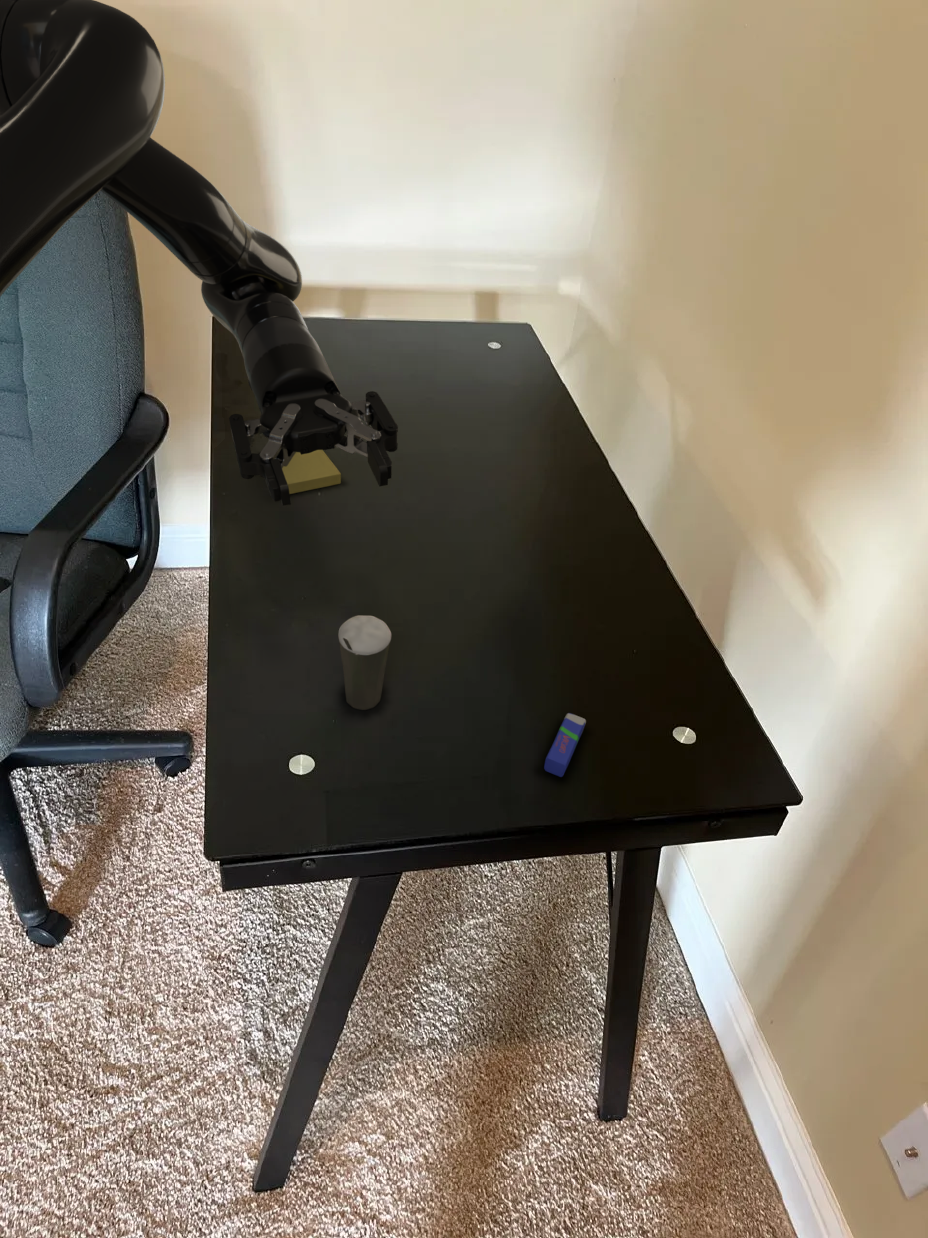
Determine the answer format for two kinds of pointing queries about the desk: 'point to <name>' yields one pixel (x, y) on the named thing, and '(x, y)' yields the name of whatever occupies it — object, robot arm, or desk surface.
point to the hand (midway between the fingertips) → (336, 488)
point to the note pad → (310, 472)
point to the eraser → (564, 744)
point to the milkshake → (364, 659)
